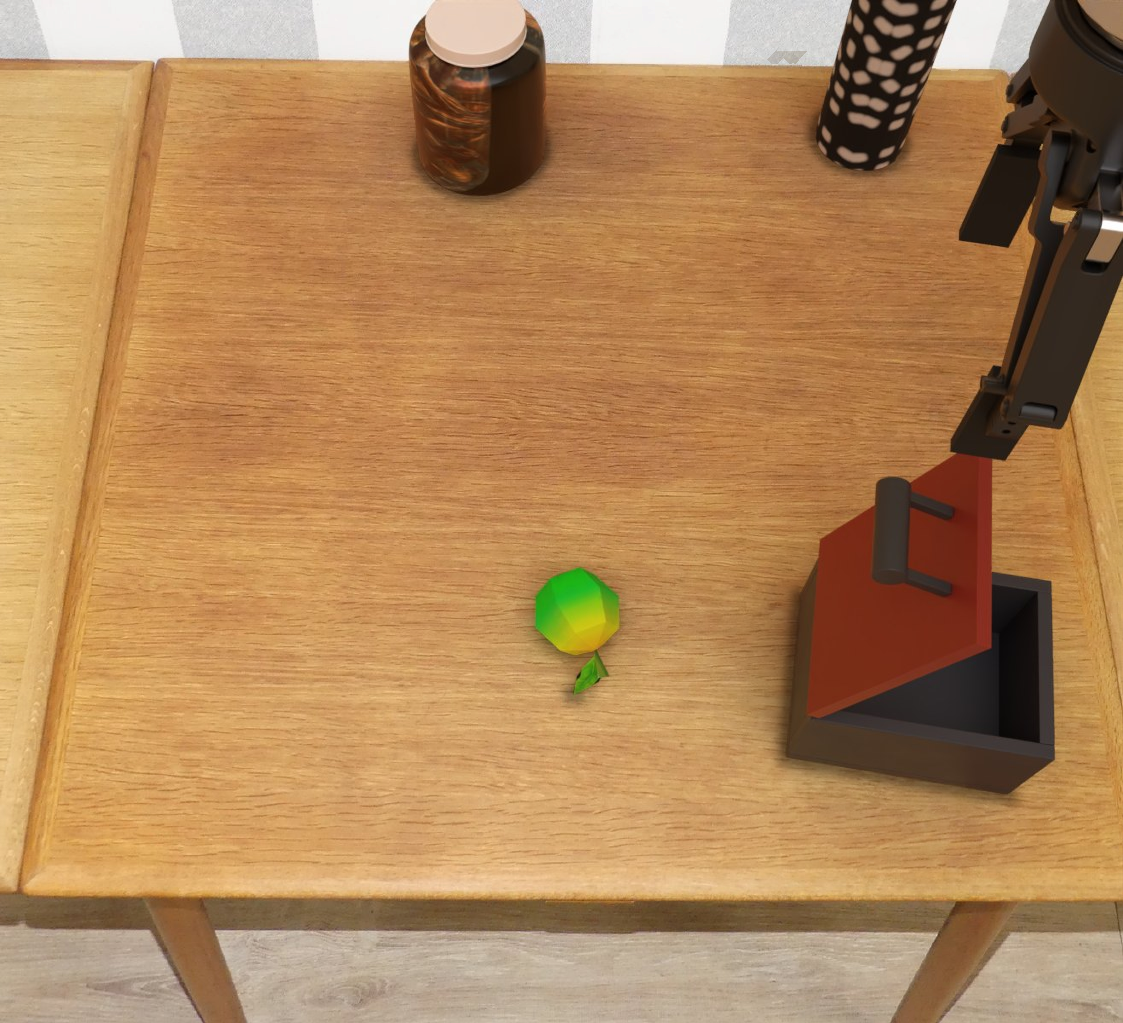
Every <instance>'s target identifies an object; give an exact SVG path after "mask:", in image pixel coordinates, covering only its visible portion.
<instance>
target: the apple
mask: <svg viewBox="0 0 1123 1023" xmlns="http://www.w3.org/2000/svg"><path fill="white" fill-rule="evenodd" d="M534 602H535V604H534V606H535V612H534V613H535V614H534V619H535V620H534V621H535V622H534V627H535V629H536V630H537V631H538V632H539V633H540V634H541V635H543V636H544V637H545V639H547V640H548V641H549V642H550V643H551V644H552V645H553V646H554V647H556V648H557V650H559V651H560V652H563V653H566V654H569V655H572V656H579V655H583V654H586V653H591V652H593V655H594V656H593V657H591V658H590V660H588V662H587V663H585V665H584V666H583V667H582V668H581V669H580V671H579V672H578V674H577V675H576V679H575V685H574V690H573V696H575V695H577V694H579V693H580V692H582V691H584V690H586V689H588V688H590V687H592V686H594V685H596V684H597V683H600V681H601V679H603V678H608V677H609V678H610V674H609V672H608V670H607V668H606V667H605V664H604V662H603V660H602V658H601V656H600V654H599V653H598V649H599V648H601V647H602V646H603V645H604V644H606V643H607V641H609V640H610V638H612V636H613V635H614V634H615V633H616V632H617V631H618V630H619V629H620V628H621V626H620V624H621V623H620V596H619V595H618V594H617V593H616V592H615V591H614V590H613V589H612V588H610V586H608V585H607V584H606V583H605V582H603V581H602V579H600V578H599V577H598V576H597V575H596V574H595V573H593V572H591V571H589V570H587V569H585V568H582V567H581V566H579V567H577V568H573V569H570V570H567V571H564V572H562V573H561V572H560V573H559V574H557V575H554V576H552V577H550V578H549V579H548V580H547V581H546V583H545V584H544V585H543V586H542V587H541V589H540V590H539V591H538V592H537V593H536V594H535V598H534Z"/></svg>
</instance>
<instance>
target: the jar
mask: <svg viewBox="0 0 1123 1023" xmlns="http://www.w3.org/2000/svg"><path fill="white" fill-rule="evenodd" d="M546 61H547V55H546V43H545V37H544V33H543V30H542V27H541V26H540V24H539V22H538V20H537V19H536V18H535V17H534V15H532V13H530V11H528V10H527V9H525V7H524V6H523V4H522V3H521V2H520V1H519V0H435V1H433V2H432V4H430V5H429V8H428V10H427V12H426V14H424V15H423V16H422V17H421V19H420V20H418V22H417V23H416V24H415V26H414V28H413V30H412V33H411V35H410V38H409V43H408V68H409V70H408V71H409V79H410V80H409V81H410V90H411V99H412V108H413V109H412V110H413V118H414V127H415V134H416V143H417V144H416V145H417V150H418V157H419V161H420V163H421V166H422V168H423V170H424V171H425V173H426V174H427V175H428V176H429V178H430V179H431V180H433V181H434V182H435V183H436V184H438V185H440V186H441V187H443V188H445V189H447V190H450V191H451V192H455V193H459V194H463V195H470V196H486V195H487V196H488V195H494V194H495V195H496V194H499V193H503V192H506V191H508V190H511V189H514V188H516V187H517V186H519V185H521V184H523V183H524V182H526V181H527V180H528V179H529V178H530V177H532V176H533V175H534V173H536V171H537V170H538V169H539V167H540V165H541V163H542V162H543V159H544V155H545V150H546V135H547V134H546V133H547V132H546V130H547V128H546V127H547V126H546V125H547V62H546Z"/></svg>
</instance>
